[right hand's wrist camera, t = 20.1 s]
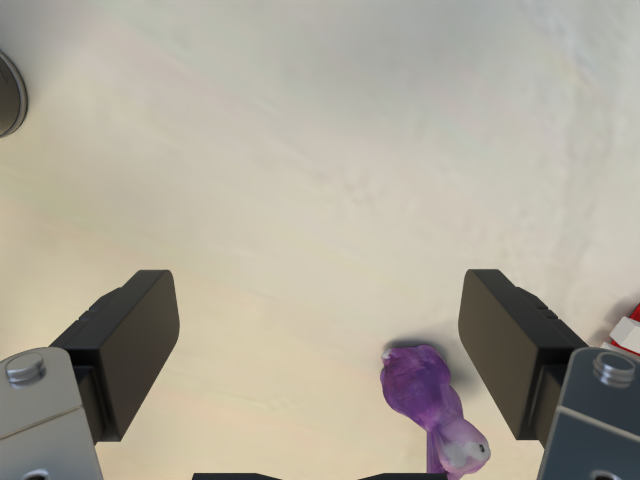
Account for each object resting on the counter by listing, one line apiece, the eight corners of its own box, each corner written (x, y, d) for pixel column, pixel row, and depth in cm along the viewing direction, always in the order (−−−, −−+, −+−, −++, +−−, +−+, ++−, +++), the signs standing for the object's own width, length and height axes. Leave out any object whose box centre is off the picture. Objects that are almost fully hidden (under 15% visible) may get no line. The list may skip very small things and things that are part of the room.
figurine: (459, 396, 52) (511, 511, 38) (380, 402, 52) (402, 517, 38) (461, 335, 48) (519, 435, 34) (377, 341, 49) (400, 443, 35)
